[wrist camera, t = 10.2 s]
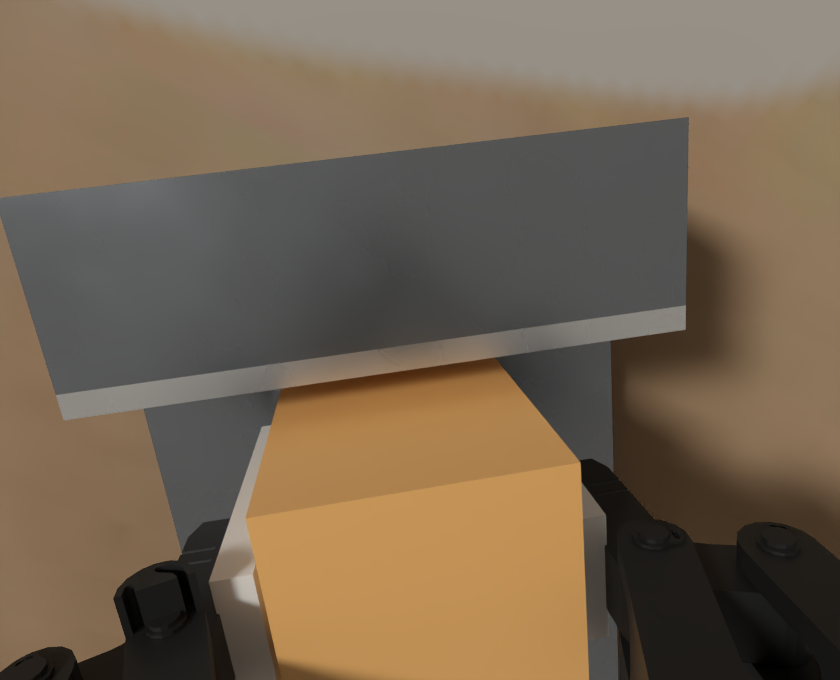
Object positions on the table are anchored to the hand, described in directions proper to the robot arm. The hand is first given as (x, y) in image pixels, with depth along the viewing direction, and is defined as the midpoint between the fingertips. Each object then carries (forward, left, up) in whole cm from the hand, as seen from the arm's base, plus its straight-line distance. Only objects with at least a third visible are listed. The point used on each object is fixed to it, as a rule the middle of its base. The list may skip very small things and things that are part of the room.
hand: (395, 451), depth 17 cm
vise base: (-6, 0, -3) cm, 7 cm away
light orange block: (0, 0, -1) cm, 1 cm away
